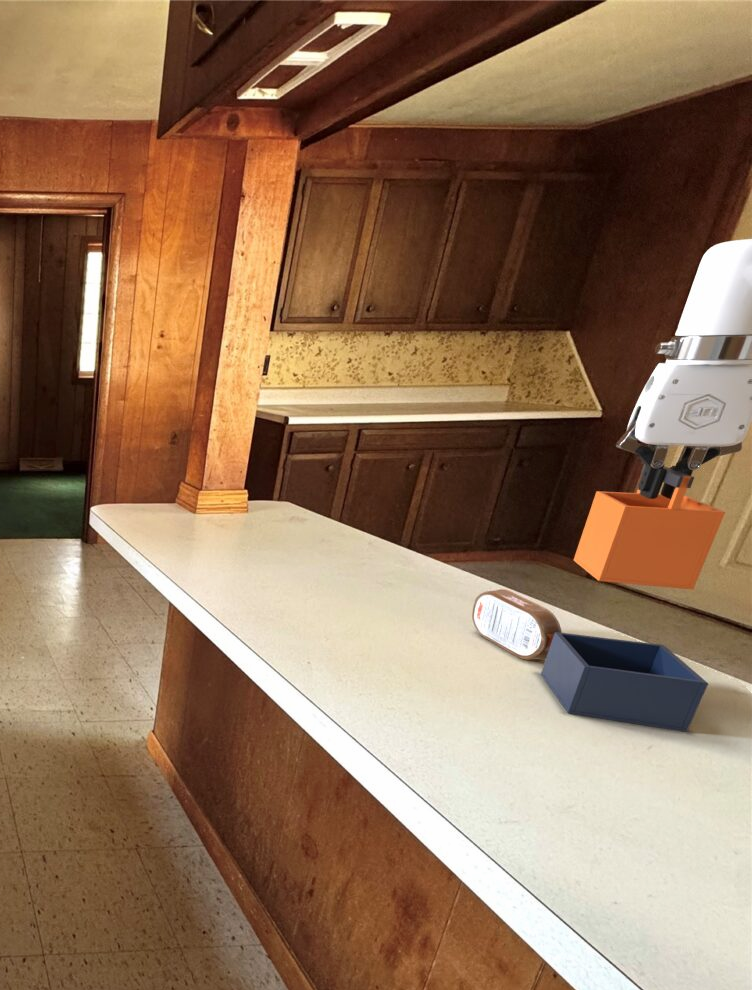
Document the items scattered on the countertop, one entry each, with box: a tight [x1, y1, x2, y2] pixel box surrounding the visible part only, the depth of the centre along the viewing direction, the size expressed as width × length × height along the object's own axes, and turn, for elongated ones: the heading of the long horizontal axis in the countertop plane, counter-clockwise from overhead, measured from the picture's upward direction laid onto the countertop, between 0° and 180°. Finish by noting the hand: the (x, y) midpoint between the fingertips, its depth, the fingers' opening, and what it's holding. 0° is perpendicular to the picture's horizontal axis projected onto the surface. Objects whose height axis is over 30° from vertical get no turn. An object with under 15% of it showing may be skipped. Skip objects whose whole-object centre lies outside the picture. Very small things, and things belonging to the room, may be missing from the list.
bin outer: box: [540, 632, 709, 733], centre depth 89 cm, size 12×12×7 cm
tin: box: [471, 588, 563, 661], centre depth 105 cm, size 15×3×8 cm, turn 179°
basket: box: [573, 464, 726, 591], centre depth 90 cm, size 10×10×15 cm
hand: (658, 496), depth 89 cm, fingers closed on basket, 1 cm apart
